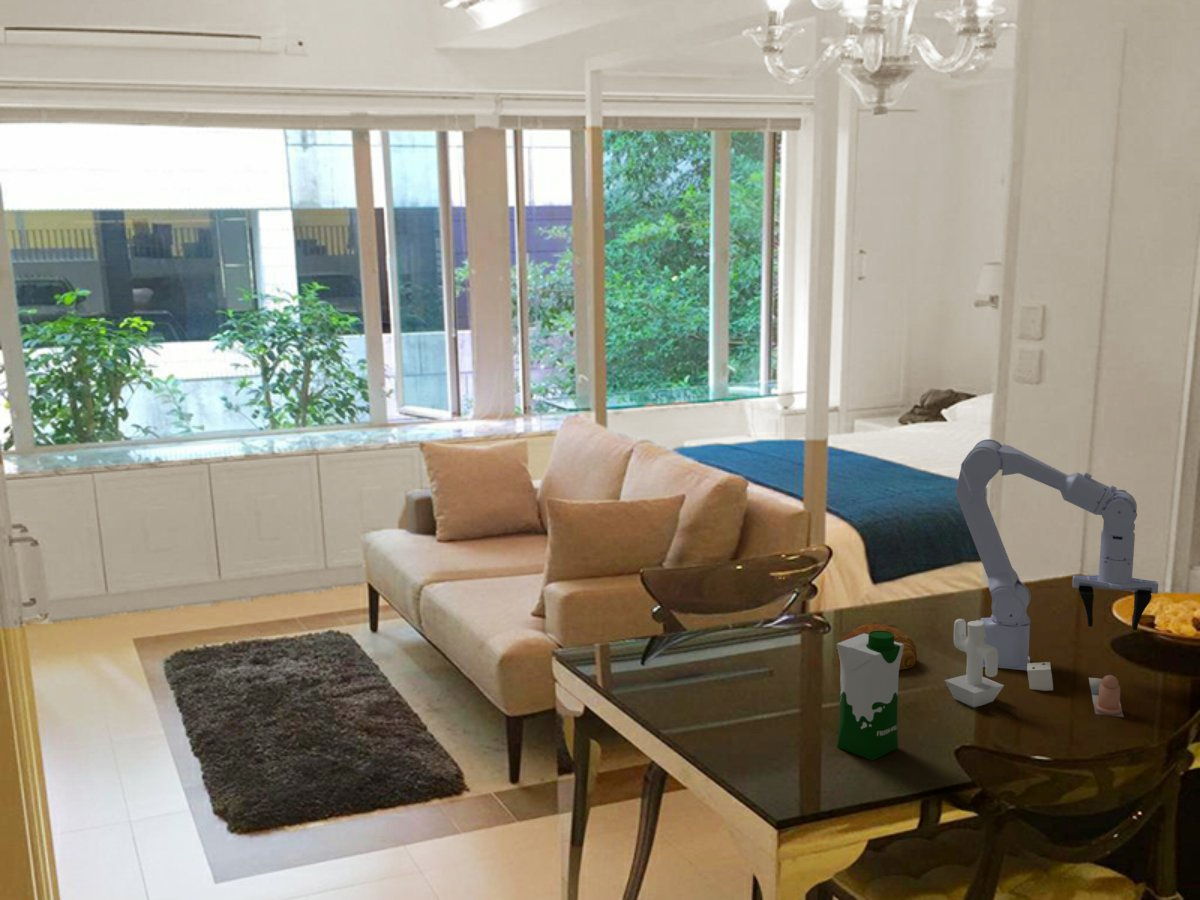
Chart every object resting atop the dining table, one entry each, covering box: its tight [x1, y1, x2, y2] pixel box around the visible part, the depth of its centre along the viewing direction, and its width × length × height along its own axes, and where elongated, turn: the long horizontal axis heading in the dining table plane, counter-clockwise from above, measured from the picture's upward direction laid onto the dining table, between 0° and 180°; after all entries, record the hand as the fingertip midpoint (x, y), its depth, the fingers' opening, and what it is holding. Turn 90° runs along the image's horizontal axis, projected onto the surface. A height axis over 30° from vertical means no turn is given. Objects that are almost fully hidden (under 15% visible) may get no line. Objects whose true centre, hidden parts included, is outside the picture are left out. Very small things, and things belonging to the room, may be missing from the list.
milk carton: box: [836, 630, 904, 761], centre depth 191 cm, size 9×9×20 cm
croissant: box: [835, 622, 918, 671], centre depth 232 cm, size 15×16×8 cm
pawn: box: [1094, 674, 1123, 716], centre depth 204 cm, size 4×4×6 cm
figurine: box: [944, 618, 1005, 708], centre depth 210 cm, size 7×9×15 cm
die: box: [1026, 661, 1054, 692], centre depth 216 cm, size 4×4×4 cm
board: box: [1088, 677, 1124, 718], centre depth 213 cm, size 14×19×1 cm
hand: (1112, 626), depth 220 cm, fingers open, 7 cm apart
